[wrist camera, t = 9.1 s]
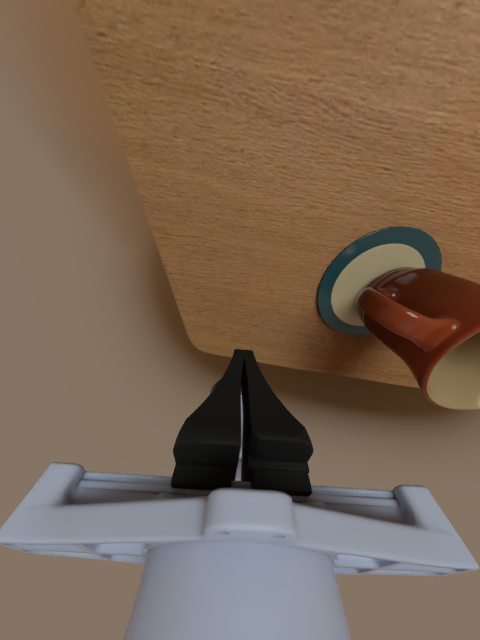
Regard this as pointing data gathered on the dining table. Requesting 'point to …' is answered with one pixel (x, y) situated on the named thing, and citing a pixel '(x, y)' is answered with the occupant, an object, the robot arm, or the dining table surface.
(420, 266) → the plate
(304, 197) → the dining table surface
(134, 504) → the robot arm
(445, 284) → the mug
